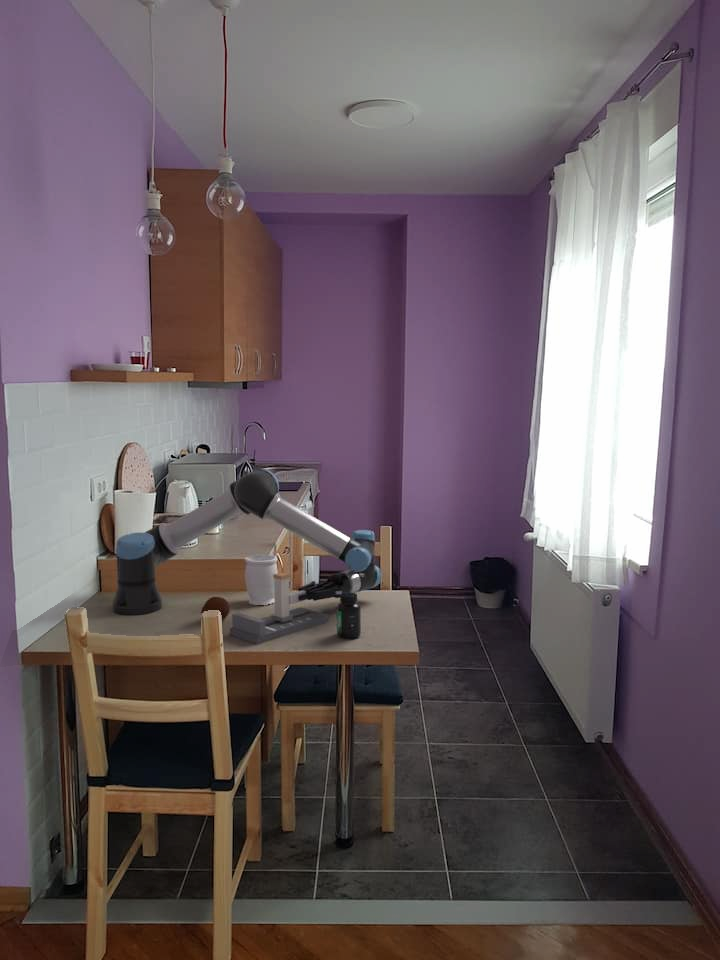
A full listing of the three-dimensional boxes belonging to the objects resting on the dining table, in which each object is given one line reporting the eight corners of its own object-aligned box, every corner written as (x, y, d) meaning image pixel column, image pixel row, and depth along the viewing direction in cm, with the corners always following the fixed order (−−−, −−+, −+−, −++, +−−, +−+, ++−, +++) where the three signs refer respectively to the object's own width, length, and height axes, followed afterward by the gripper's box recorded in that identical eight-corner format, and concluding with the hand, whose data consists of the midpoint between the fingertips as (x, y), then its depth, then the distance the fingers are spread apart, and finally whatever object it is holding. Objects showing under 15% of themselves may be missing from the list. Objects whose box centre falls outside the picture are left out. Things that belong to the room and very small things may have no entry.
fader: (281, 615, 233) (280, 571, 231) (292, 619, 230) (292, 574, 228) (271, 618, 230) (270, 574, 229) (282, 622, 227) (282, 576, 225)
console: (300, 613, 244) (300, 594, 243) (328, 621, 236) (328, 601, 235) (229, 634, 223) (229, 614, 223) (257, 644, 215) (257, 623, 215)
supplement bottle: (337, 639, 219) (337, 598, 218) (336, 632, 226) (335, 591, 224) (361, 639, 220) (361, 597, 218) (359, 631, 226) (359, 591, 225)
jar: (281, 598, 261) (280, 554, 259) (273, 607, 250) (273, 561, 248) (250, 597, 262) (249, 553, 260) (241, 606, 252) (240, 560, 250)
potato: (235, 617, 240) (235, 592, 239) (220, 628, 229) (219, 602, 228) (212, 615, 242) (212, 590, 241) (196, 626, 231) (195, 600, 230)
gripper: (358, 599, 244) (304, 616, 226) (328, 592, 252) (273, 607, 235) (358, 575, 243) (303, 591, 225) (328, 569, 251) (273, 583, 234)
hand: (288, 599), depth 230 cm, fingers closed
